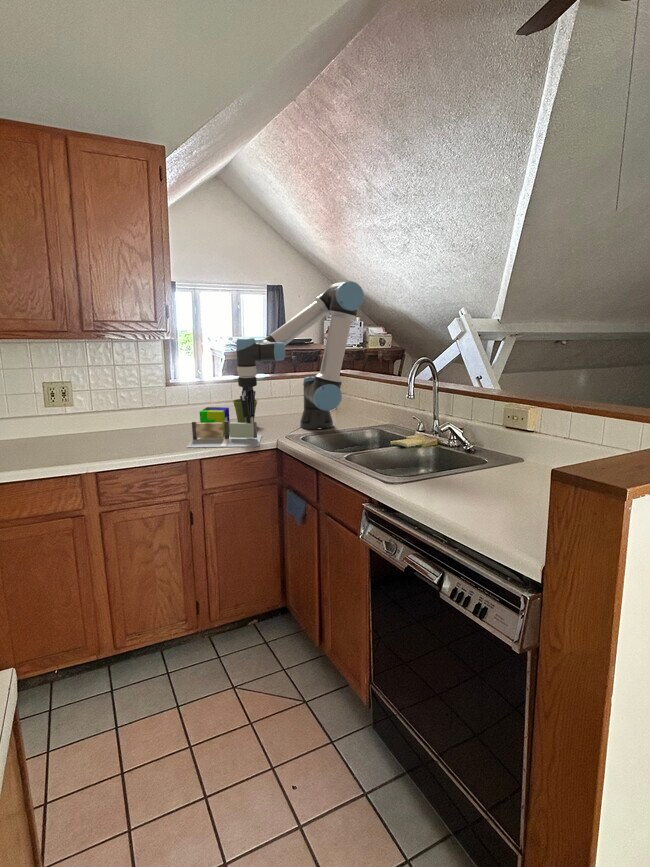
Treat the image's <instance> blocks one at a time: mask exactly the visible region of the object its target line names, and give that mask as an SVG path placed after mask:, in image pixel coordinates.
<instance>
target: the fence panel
mask: <svg viewBox="0 0 650 867" xmlns="http://www.w3.org/2000/svg"><path fill="white" fill-rule="evenodd" d="M229 435H230V437H235V438H257V435H258V427H257V421H254V422H253V423H238V422H230V430H229Z"/></svg>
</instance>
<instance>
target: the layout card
mask: <svg viewBox="0 0 650 867" xmlns="http://www.w3.org/2000/svg"><path fill="white" fill-rule="evenodd" d="M262 436H263V435H262V434H257V438H235V437H230V434H229V439H225V434H224V437H214V438H197V439H196V440H194V439H193V438H192V440H191V441H190V442H189V444H188V445H186V449H192V448H193V449H201V448H202V449H204V448H206V449H209V448H210V449H211V448H215V449H216V448H259V447H260V443H261V440H262Z"/></svg>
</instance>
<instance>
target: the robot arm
mask: <svg viewBox="0 0 650 867" xmlns="http://www.w3.org/2000/svg"><path fill="white" fill-rule="evenodd" d="M364 300H365V292H364V290H363V288H362V287H361V285H360V284H359V283H358V282H355V281H351V280H344V281H337V282H335V283H333V284H331V285H330V286H329V287H328V288H326V290H324V291H323V292H321V294H319V295H318V296H316V298H315V301H314V302H313V303H311V304H309V305H308V306H307V307H305V308H304V309H303V310H302V311H300V312H299V313H297V314H296V315H294V316H293V317H292V318H290V319H289V320H288V321H287V322H285V323H284V324H283V325H281V326H280V327H279V328H277V329H276V330H275V331H273V332H272V333H270V334H269V335H268V336H266V337H265V338H263V339H261V340H259V341H256V340H255V338H254V337H239V338H236V350H235V351H236V364H237V367H236V371H237V376H238V377H237V385H238V387H241V388H242V390H241V395H240V396H239V399H241V403H242V410H243V418H246V423H253V417H254V418H255V417H256V414H255V415H253V414H254V410H255V399H256V393H257V392H256V391H255V390H254V387H256V386H257V384H258V382H257V362H274V361H275V362H278V361H283V360H285V357H286V346H287V345H288V344H289V343H290V342H292V341H294V339H296V338H297V337H299V336H300V335H301V334H303V333H305V331H307V330H308V329H310V328H311V327H313V325H315V324H317V323H318V322H319V321H320V320H322V319H323V318H325V317H330V316H331V318H330V322H329V326H328V327H329V328H328V332H327V337H326V340H325V341H326V342H325V345H324V351H323V355H322V360H321V365H320V369H319V372H318V373H317V374H316V375H315V376H306V377H304V378H303V383H302V385H303V386H302V387H303V411H302V415H301V418H300V421H299V422H300V423H299V427H301V428H302V429H308V430H319V429H318V428H327V429H330V428H329V427H331V428H332V427H333V426H334V421H333V417H332V413H331V411H333V410H334V409H336V408H337V407H339V405H340V404H341V401H342V399H343V398H342V396H343V394H342V391H341V388H342V383H343V382H342V381H343V380H342V379H341V377H340V374H341V370H342V366H343V362H344V357H345V353H346V347H347V343H348V338H349V334H350V330H351V329H350V328H351V327H352V326H351V325H352V321H353V320H355V319H356V318H357V315H358V312H359V311H358V310H359V308H361V307H362V304H363V303H364ZM255 411H256V410H255Z"/></svg>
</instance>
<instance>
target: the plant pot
mask: <svg viewBox="0 0 650 867" xmlns="http://www.w3.org/2000/svg"><path fill="white" fill-rule="evenodd" d="M231 402H232V403H233V406H234V408H235V409H234V410H235V414H236V420H237V423H246V418H243V410H242V403H241V399H240V398H237V399H236V398H235V399H232V401H231ZM258 402H259V400H258V399H256V398H255V410H254V414H253V415H255V416H256V409H257V405H258ZM253 422H255V417H253Z"/></svg>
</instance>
